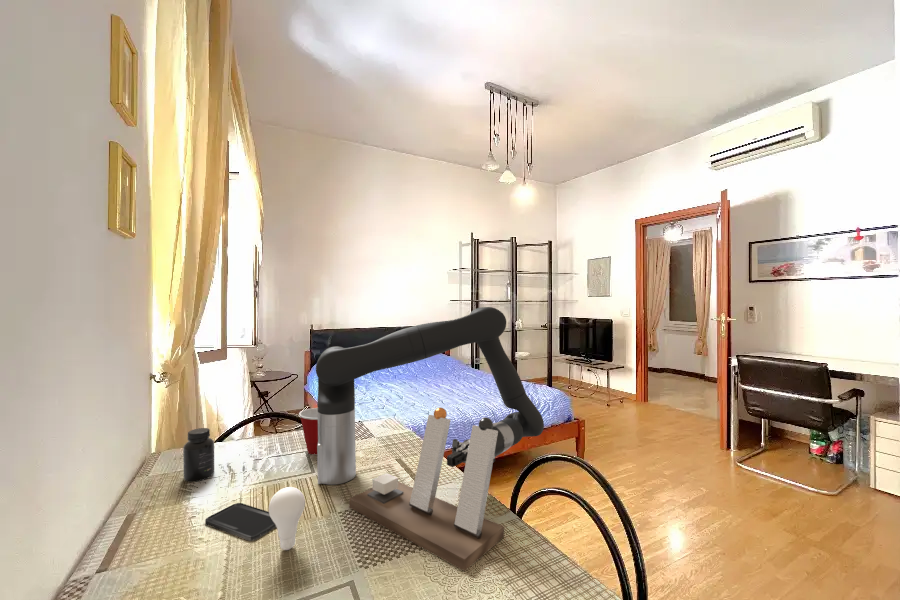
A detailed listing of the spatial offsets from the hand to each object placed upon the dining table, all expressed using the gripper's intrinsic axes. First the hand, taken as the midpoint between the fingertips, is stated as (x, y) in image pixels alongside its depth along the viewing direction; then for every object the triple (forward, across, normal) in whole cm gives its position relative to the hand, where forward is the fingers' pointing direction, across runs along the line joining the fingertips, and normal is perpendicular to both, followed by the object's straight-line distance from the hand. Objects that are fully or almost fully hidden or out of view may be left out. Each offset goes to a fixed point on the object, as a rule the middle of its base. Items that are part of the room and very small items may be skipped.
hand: (449, 461), depth 86 cm
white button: (+9, -11, +7) cm, 16 cm away
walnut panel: (+9, 0, +9) cm, 13 cm away
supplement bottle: (+31, -60, +9) cm, 68 cm away
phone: (+32, -28, +10) cm, 44 cm away
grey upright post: (+9, +12, +6) cm, 16 cm away
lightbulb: (+31, -13, +9) cm, 35 cm away
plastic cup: (+2, -51, +9) cm, 52 cm away
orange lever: (+9, 0, +6) cm, 11 cm away
